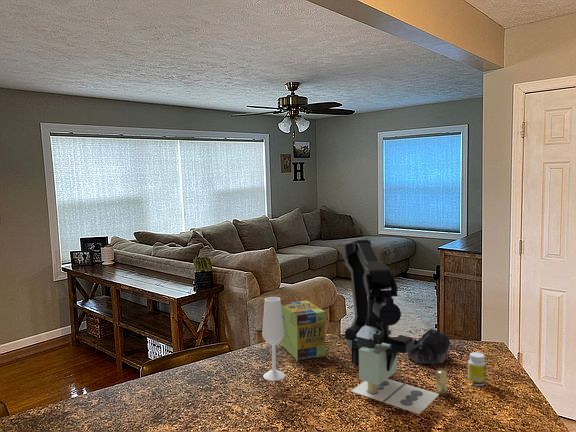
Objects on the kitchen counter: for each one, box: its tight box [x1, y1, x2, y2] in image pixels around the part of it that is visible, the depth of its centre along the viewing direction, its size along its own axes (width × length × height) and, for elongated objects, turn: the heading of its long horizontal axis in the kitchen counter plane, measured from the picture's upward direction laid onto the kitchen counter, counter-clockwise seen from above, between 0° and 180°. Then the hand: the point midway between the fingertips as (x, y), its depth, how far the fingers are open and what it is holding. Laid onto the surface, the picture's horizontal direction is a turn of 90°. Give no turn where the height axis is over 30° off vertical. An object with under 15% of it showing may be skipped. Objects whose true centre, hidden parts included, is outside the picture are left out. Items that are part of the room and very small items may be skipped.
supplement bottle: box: [467, 351, 487, 387], centre depth 134 cm, size 5×5×8 cm
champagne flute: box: [261, 296, 286, 382], centre depth 140 cm, size 7×7×24 cm
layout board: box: [350, 378, 440, 415], centre depth 126 cm, size 20×13×8 cm, turn 51°
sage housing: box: [358, 343, 398, 385], centre depth 129 cm, size 6×11×8 cm, turn 141°
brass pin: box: [436, 369, 448, 395], centre depth 126 cm, size 3×3×7 cm
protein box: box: [281, 300, 326, 362], centre depth 160 cm, size 10×15×16 cm
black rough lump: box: [407, 328, 451, 365], centre depth 152 cm, size 13×14×10 cm
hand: (378, 367), depth 129 cm, fingers closed on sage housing, 6 cm apart
